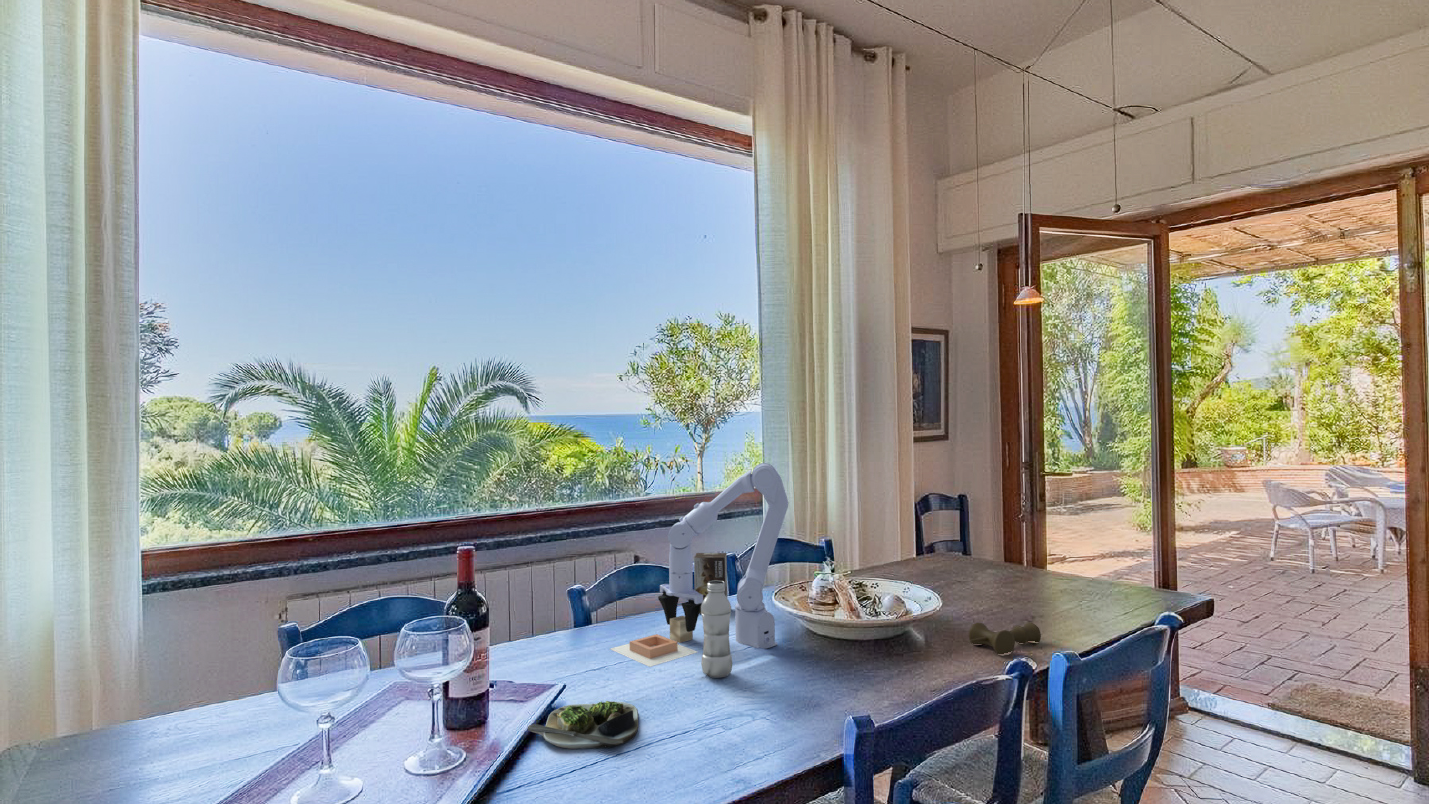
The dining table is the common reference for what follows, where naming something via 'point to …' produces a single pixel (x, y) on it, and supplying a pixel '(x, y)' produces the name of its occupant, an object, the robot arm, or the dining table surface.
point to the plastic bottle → (716, 631)
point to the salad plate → (590, 725)
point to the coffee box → (709, 571)
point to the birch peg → (679, 630)
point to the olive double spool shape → (1003, 636)
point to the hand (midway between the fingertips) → (680, 627)
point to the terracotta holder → (663, 646)
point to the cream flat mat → (656, 660)
